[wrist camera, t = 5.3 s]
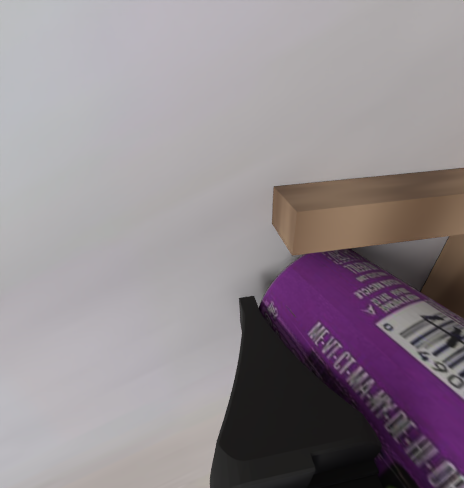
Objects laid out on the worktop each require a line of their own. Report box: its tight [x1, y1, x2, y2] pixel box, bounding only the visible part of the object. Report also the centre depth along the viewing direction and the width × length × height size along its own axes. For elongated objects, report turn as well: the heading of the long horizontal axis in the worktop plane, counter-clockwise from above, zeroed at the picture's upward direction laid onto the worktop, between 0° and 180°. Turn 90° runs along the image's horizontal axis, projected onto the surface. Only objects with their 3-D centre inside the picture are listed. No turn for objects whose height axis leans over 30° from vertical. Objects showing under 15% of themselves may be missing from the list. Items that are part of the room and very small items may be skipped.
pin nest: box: [272, 168, 464, 319], centre depth 13 cm, size 14×24×5 cm, turn 3°
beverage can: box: [259, 248, 464, 488], centre depth 9 cm, size 7×7×12 cm
